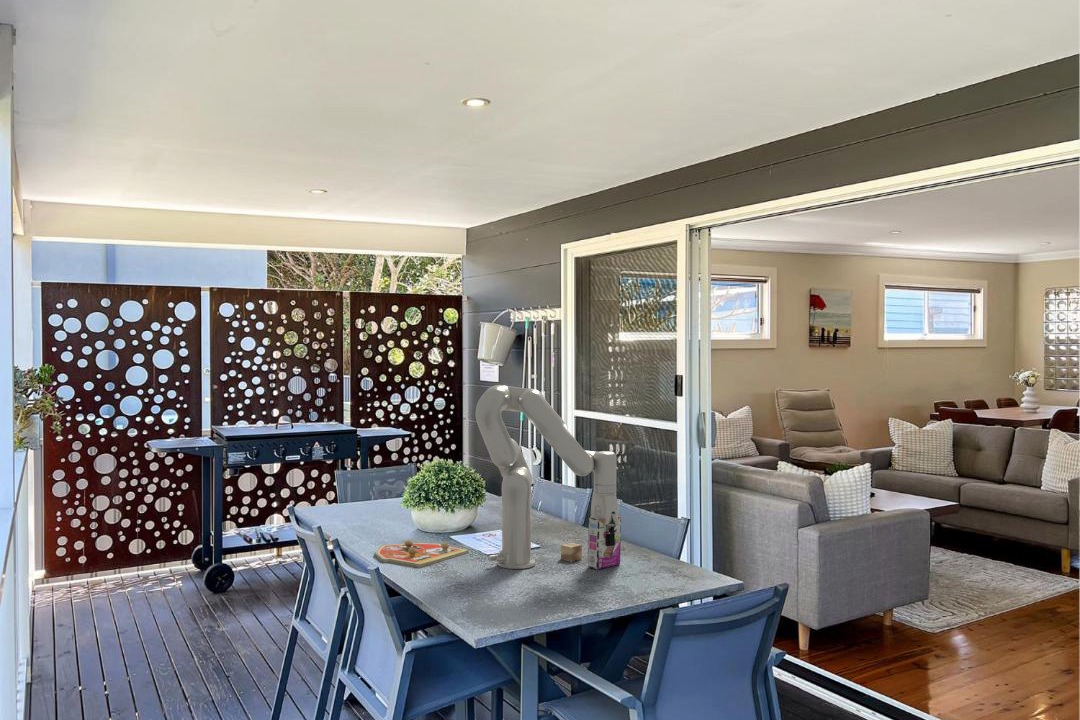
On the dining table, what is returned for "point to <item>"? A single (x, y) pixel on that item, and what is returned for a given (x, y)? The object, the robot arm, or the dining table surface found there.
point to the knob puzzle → (417, 553)
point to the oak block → (571, 551)
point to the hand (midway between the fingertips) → (604, 543)
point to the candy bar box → (602, 545)
